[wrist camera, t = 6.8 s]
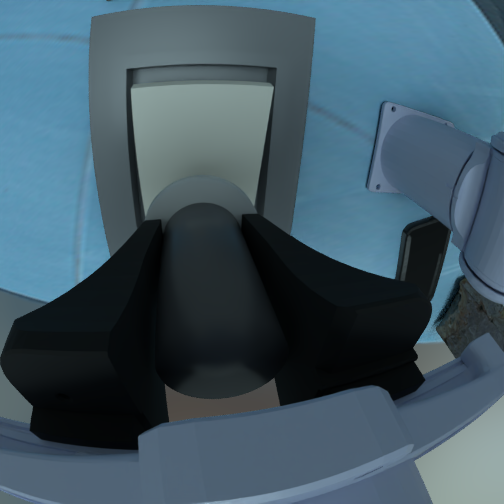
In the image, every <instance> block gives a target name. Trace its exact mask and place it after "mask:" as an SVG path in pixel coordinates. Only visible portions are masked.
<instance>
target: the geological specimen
mask: <svg viewBox="0 0 504 504" xmlns="http://www.w3.org/2000/svg"><path fill="white" fill-rule="evenodd" d="M436 331H437V332H438V334H439V335H440V337H441V338H442V339H443V341H444V342H445V343H446V345H447V346H448V348H449V349H450V351H451V352H452V354H453V355H454V357H455V358H458V357H460V356H461V354H462V352H463V351H464V349H465V348H466V347H467V346H468V345H469V344H470V343H471V342H472V341H473V340H475V339H477V338H478V337H480V336H482V335H484V334H486V333H489V334H490V335H491V336H492V337H493V339H494V340H495V341H496V343H497V344H498V345H499V347H500V348H501V349H502V351H503V352H504V306H503V305H502V304H499V303H495V302H493V301H491V300H489V299H487V298H485V297H484V296H482V295H481V294H480V293H478V292H477V291H476V290H475V289H474V288H473V287H472V286H471V284H470V283H469V282H468V280H467V279H466V278H465V279H463V280H461V281H460V290H459V292H458V293H457V294H456V296H455V298H454V300H453V302H452V304H451V306H450V308H449V309H448V311H447V313H446V315H445V317H444V318H443V320H442V322H441V323H440V324H439V325H438V326H437V327H436Z"/></svg>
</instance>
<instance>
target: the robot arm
mask: <svg viewBox="0 0 504 504" xmlns="http://www.w3.org/2000/svg"><path fill="white" fill-rule="evenodd" d="M392 107H393V111H392V110H391V108H392ZM377 185H378V187H377V188H376V186H377ZM367 188H368V190H370V191H371V192H386V193H401V194H404V195H406V196H407V197H409V198H410V199H411V200H413V201H414V202H415V203H417V204H418V205H419V206H421V207H422V208H423V209H425V210H426V211H427V212H429V213H430V214H431V215H433V216H434V217H435V218H436V219H438V220H439V221H440V222H441V223H443V224H444V225H445V226H446V227H448V228H449V229H450V230H451V231H452V232H453V237H452V241H451V242H452V243H453V244H454V245H455V246H456V247H458V248H459V249H460V250H461V252H460V256H459V264H460V267H461V270H462V272H463V274H464V275H465V277H466V279H467V280H468V282H469V283H470V284H471V286H472V287H473V288H474V289H475V290H476V291H477V292H478V293H480V294H481V295H482V296H484V297H485V298H487V299H489V300H491V301H493V302H495V303H499V304H504V132H499V133H498V134H496V135H493V136H492V137H491V142H490V144H489V143H487V142H485V141H483V140H481V139H478V138H476V137H474V136H472V135H469V134H467V133H465V132H462V131H460V130H457V129H455V128H454V124H453V123H451V122H448V121H446V120H443V119H441V118H438V117H435V116H432V115H429V114H426V113H423V112H420V111H417V110H414V109H411V108H408V107H405V106H401V105H398V104H394V103H391V102H384V103H383V105H382V109H381V116H380V122H379V128H378V134H377V139H376V144H375V150H374V155H373V160H372V165H371V169H370V174H369V179H368V183H367ZM241 231H242V233H243V235H244V238H245V240H246V243H247V245H248V248H249V250H250V253H251V255H252V258H253V260H254V263H255V265H256V267H257V270H258V272H259V275H260V277H261V280H262V282H263V285H264V287H265V290H266V292H267V294H268V297H269V299H270V302H271V304H272V307H273V309H274V312H275V314H276V317H277V319H278V321H279V324H280V326H281V329H282V331H283V334H284V336H285V339H286V341H287V344H288V349H289V351H288V358H287V361H286V363H285V365H284V367H283V368H282V370H281V371H280V372H279V373H278V374H277V375H276V376H275V377H274V378H275V383H276V387H277V392H278V397H279V401H280V406H279V407H274V408H269V409H263V410H257V411H252V412H245V413H237V414H230V415H222V416H214V417H203V418H193V419H187V420H181V421H175V422H169V417H168V410H167V402H166V394H165V393H166V392H165V383H164V382H163V381H162V380H161V379H160V378H159V376H158V374H157V372H156V369H155V332H156V311H157V295H158V282H159V270H160V259H161V249H162V240H163V233H162V224H161V219H156V220H145V221H144V222H143V223H142V224H141V225H140V226H139V228H138V229H137V230H136V231H135V232H134V233H133V234H132V236H131V237H130V238H129V239H128V240H127V241H126V242H125V243H124V244H123V246H122V247H121V248H119V249H118V250H117V252H116V253H115V254H114V255H113V256H112V257H111V258H110V259H109V260H108V261H106V262H105V263H104V264H103V265H102V266H101V267H100V268H99V269H97V270H96V271H95V272H94V273H93V274H91V275H90V276H89V277H88V278H86V279H85V280H83V281H82V282H80V283H79V284H78V285H76V286H75V287H73V288H72V289H71V290H69V291H68V292H66V293H65V294H63V295H61V296H60V297H58V298H56V299H55V300H53V301H51V302H50V303H48V304H46V305H44V306H42V307H41V308H38V309H36V310H34V311H32V312H30V313H28V314H26V315H24V316H22V317H20V318H17V319H16V320H15V321H14V323H13V325H12V328H11V330H10V333H9V335H8V338H7V340H6V343H5V346H4V349H3V351H2V354H1V357H0V365H1V367H2V370H3V372H4V374H5V376H6V377H7V379H8V380H9V381H10V383H11V384H12V385H13V386H14V387H15V388H16V389H17V390H18V391H19V392H20V393H21V394H22V395H23V396H24V398H25V399H26V400H27V401H28V402H29V403H31V405H32V406H33V411H32V416H31V423H30V424H28V423H24V422H19V421H15V420H11V419H7V418H3V417H0V491H3V492H5V493H8V494H10V495H13V496H15V497H18V498H20V499H23V500H26V501H29V502H32V503H35V504H433V503H432V500H431V498H430V496H429V494H428V491H427V489H426V487H425V484H424V482H423V480H422V478H421V476H420V473H419V471H418V469H417V467H416V465H415V462H414V461H415V460H416V459H418V458H420V457H421V456H423V455H425V454H426V453H428V452H430V451H431V450H433V449H434V448H436V447H438V446H439V445H441V444H442V443H443V442H445V441H447V440H448V439H450V438H451V437H453V436H454V435H455V434H457V433H458V432H460V431H461V430H462V429H464V428H465V427H466V426H468V425H469V424H470V423H472V422H473V421H474V420H476V419H477V418H478V417H479V416H481V415H482V414H483V413H484V412H485V411H486V410H488V408H490V407H491V406H492V405H493V404H494V403H496V402H497V401H498V400H499V399H500V398H501V397H502V396H503V395H504V352H503V351H502V349H501V348H500V347H499V345H498V344H497V343H496V341H495V340H494V339H493V337H492V336H491V335H490V334H489V333H486V334H484V335H482V336H480V337H478V338H477V339H475V340H473V341H472V342H471V343H470V344H469V345H468V346H467V347H466V348H465V349H464V351H463V352H462V354H461V356H460V357H458V358H456V359H455V360H453V361H451V362H449V363H447V364H445V365H443V366H441V367H439V368H437V369H435V370H432V371H430V372H428V373H426V374H424V375H422V373H421V372H420V370H419V369H418V367H417V365H416V364H415V362H414V361H416V360H417V358H418V355H417V354H416V352H415V350H414V349H413V347H414V346H415V344H416V342H417V341H418V339H419V338H420V336H421V335H422V333H423V332H424V330H425V328H426V326H427V325H428V323H429V321H430V317H431V313H432V304H431V302H430V301H429V300H428V299H427V297H426V296H425V295H424V294H423V292H422V291H421V290H420V289H419V288H418V286H417V285H416V284H414V283H409V282H405V281H400V280H395V279H391V278H386V277H382V276H379V275H376V274H372V273H369V272H366V271H363V270H360V269H357V268H354V267H351V266H349V265H346V264H344V263H341V262H339V261H336V260H334V259H332V258H330V257H328V256H326V255H324V254H322V253H320V252H318V251H316V250H314V249H312V248H310V247H308V246H307V245H305V244H303V243H302V242H300V241H298V240H297V239H295V238H294V237H292V236H290V235H289V234H287V233H286V232H285V231H283V230H282V229H280V228H279V227H277V226H276V225H274V224H273V223H272V222H270V221H269V220H267V219H266V218H264V217H263V216H261V215H260V214H242V224H241Z"/></svg>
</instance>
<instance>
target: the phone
mask: <svg viewBox="0 0 504 504" xmlns="http://www.w3.org/2000/svg"><path fill="white" fill-rule="evenodd" d="M433 217H434V216H431V217H428V218H425V219H422V220H419V221H416V222H413V223H410V224H408V225H407V226H406V227H405V228H404V230H403V232H402V236H401V244H400V252H399V258H398V265H397V271H396V277H395V280H400V281H405V282H409V283H414V284H416V285H417V286H418V288H419V289H420V290H421V291H422V292H423V294H424V295H425V296H426V297H427V299H428V300H429V301H431V300H432V298H433V296H434V293H435V290H436V287H437V284H438V280H439V277H440V273H441V270H442V266H443V263H444V259H445V255H446V251H447V247H448V243H449V238H450V234H451V230H450V229H449V228H448V227H446V226H445V225H444V224H443V223H441V222H440V221H439V220H438V219H436V218H435V217H434V218H433ZM430 218H433V219H430ZM429 219H430V220H429Z"/></svg>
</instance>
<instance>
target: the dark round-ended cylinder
mask: <svg viewBox="0 0 504 504" xmlns="http://www.w3.org/2000/svg"><path fill="white" fill-rule="evenodd" d="M242 214H258V213H257V211H256V209H255V208H254V206H253V204H252V202H251V201H250V199H249V198H248V196H247V195H246V194H245V193H244V192H243V191H242V190H241V189H240V188H239V187H238V186H236V185H235V184H234V183H232V182H230V181H228V180H226V179H223V178H220V177H216V176H211V175H194V176H188V177H185V178H182V179H179V180H177V181H175V182H173V183H171V184H170V185H168V186H166V187H165V188H164V189H163V190H162V191H161V192H160V193H159V194H158V195H157V196H156V197H155V198H154V200H153V201H152V203H151V205H150V207H149V209H148V211H147V214H146V218H145V220H156V219H161V224H162V233H163V240H162V249H161V259H160V270H159V282H158V295H157V311H156V332H155V369H156V372H157V374H158V376H159V378H160V379H161V380H162V381H163V382H164V383H165V384H166V385H167V386H168V387H170V388H171V389H173V390H175V391H177V392H179V393H182V394H184V395H188V396H191V397H196V398H204V399H221V398H229V397H234V396H238V395H242V394H245V393H248V392H251V391H253V390H255V389H257V388H259V387H261V386H263V385H264V384H266V383H268V382H269V381H270V380H272V379H273V378H274V377H275V376H276V375H277V374H278V373H279V372H280V371H281V370H282V368H283V367H284V365H285V363H286V361H287V358H288V351H289V349H288V344H287V341H286V339H285V336H284V334H283V331H282V329H281V326H280V324H279V321H278V319H277V317H276V314H275V312H274V309H273V307H272V304H271V302H270V299H269V297H268V294H267V292H266V290H265V287H264V285H263V282H262V280H261V277H260V275H259V272H258V270H257V267H256V265H255V263H254V260H253V258H252V255H251V253H250V250H249V248H248V245H247V243H246V240H245V238H244V235H243V233H242V231H241V224H242Z"/></svg>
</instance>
